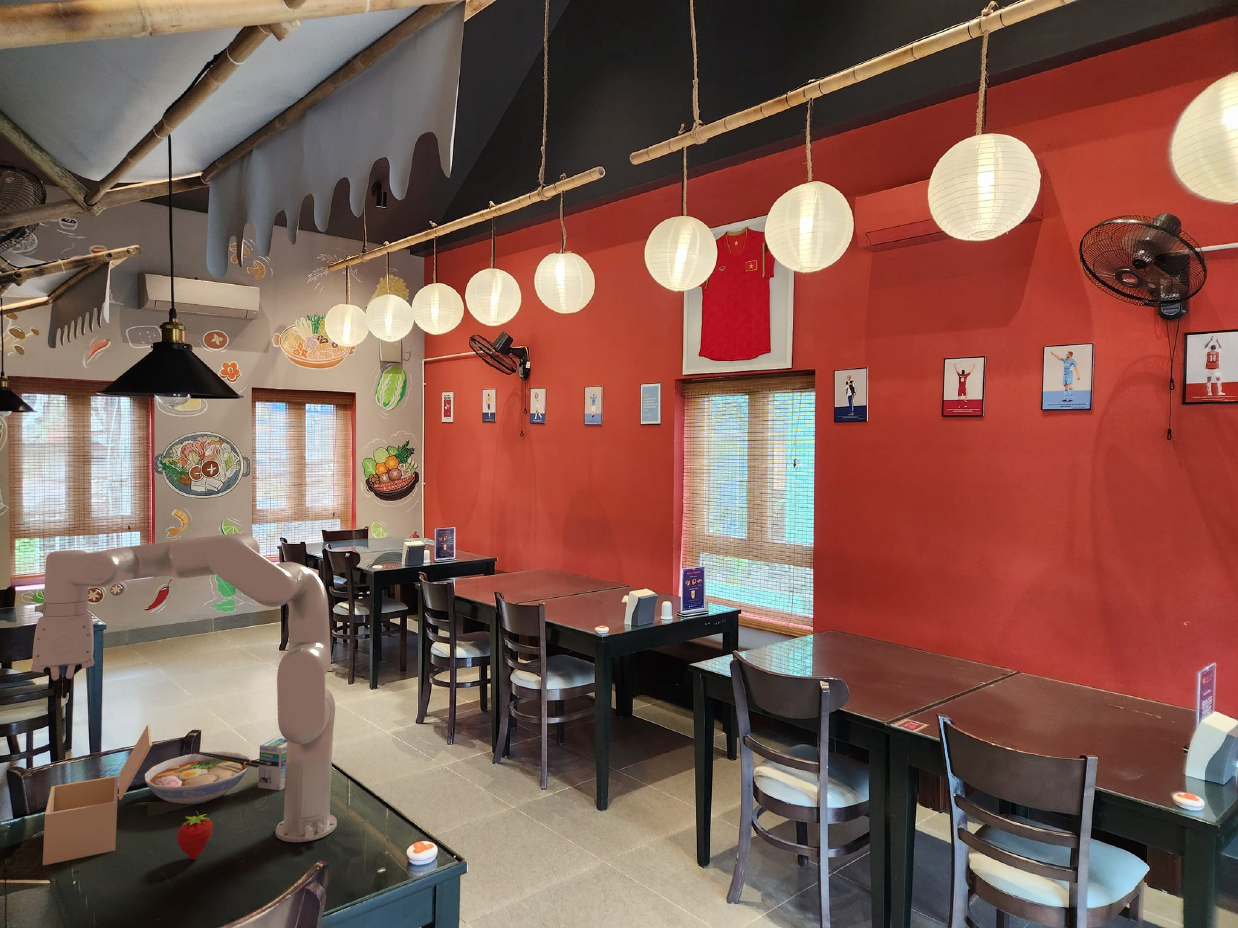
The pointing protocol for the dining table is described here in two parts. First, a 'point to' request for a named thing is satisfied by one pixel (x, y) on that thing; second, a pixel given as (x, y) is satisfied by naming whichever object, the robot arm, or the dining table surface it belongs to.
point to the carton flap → (134, 761)
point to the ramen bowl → (198, 776)
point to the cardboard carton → (80, 820)
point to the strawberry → (194, 835)
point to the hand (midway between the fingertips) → (61, 696)
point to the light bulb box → (273, 764)
